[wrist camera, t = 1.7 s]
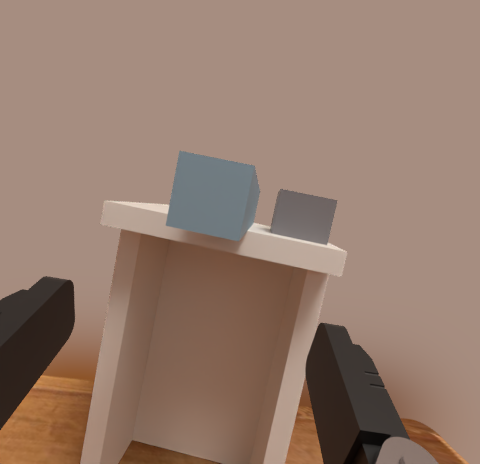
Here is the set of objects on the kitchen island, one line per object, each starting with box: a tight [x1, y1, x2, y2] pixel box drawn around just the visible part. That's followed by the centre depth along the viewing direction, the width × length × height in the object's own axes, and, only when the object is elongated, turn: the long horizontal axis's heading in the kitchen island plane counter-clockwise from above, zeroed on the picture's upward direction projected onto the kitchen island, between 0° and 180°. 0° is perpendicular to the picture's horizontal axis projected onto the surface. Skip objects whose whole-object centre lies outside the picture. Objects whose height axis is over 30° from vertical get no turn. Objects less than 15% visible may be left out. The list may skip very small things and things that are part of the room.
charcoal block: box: [270, 189, 337, 245], centre depth 30 cm, size 5×5×4 cm
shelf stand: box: [80, 201, 347, 464], centre depth 34 cm, size 20×16×32 cm
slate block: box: [166, 151, 260, 241], centre depth 27 cm, size 4×22×4 cm, turn 175°
